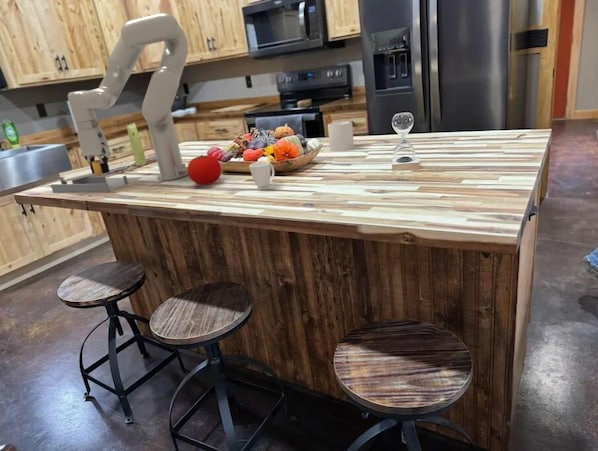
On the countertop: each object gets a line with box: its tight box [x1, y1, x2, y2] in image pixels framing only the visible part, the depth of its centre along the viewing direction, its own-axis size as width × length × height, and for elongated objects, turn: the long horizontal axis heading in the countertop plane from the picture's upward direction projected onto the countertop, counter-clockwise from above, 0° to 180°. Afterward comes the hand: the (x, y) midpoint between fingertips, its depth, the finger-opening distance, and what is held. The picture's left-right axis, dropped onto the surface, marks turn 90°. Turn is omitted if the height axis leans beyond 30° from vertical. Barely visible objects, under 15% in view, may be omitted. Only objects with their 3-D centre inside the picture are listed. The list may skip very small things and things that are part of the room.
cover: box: [58, 165, 95, 184], centre depth 178 cm, size 15×11×5 cm
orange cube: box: [92, 159, 104, 176], centre depth 163 cm, size 5×5×5 cm
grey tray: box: [50, 175, 143, 194], centre depth 173 cm, size 30×20×4 cm, turn 68°
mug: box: [327, 120, 355, 152], centre depth 180 cm, size 14×10×11 cm
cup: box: [248, 160, 275, 191], centre depth 139 cm, size 7×10×8 cm
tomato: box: [187, 154, 222, 185], centre depth 152 cm, size 11×12×10 cm
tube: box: [126, 122, 148, 167], centre depth 200 cm, size 6×5×20 cm
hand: (101, 172), depth 164 cm, fingers closed on orange cube, 4 cm apart
